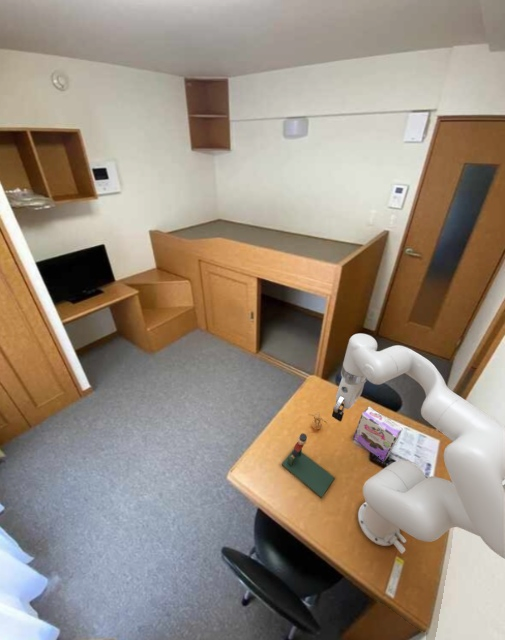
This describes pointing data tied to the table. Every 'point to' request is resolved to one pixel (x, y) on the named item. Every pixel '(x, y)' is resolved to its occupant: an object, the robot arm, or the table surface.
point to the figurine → (317, 421)
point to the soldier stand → (309, 473)
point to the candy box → (377, 433)
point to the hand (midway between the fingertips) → (343, 409)
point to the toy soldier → (299, 445)
